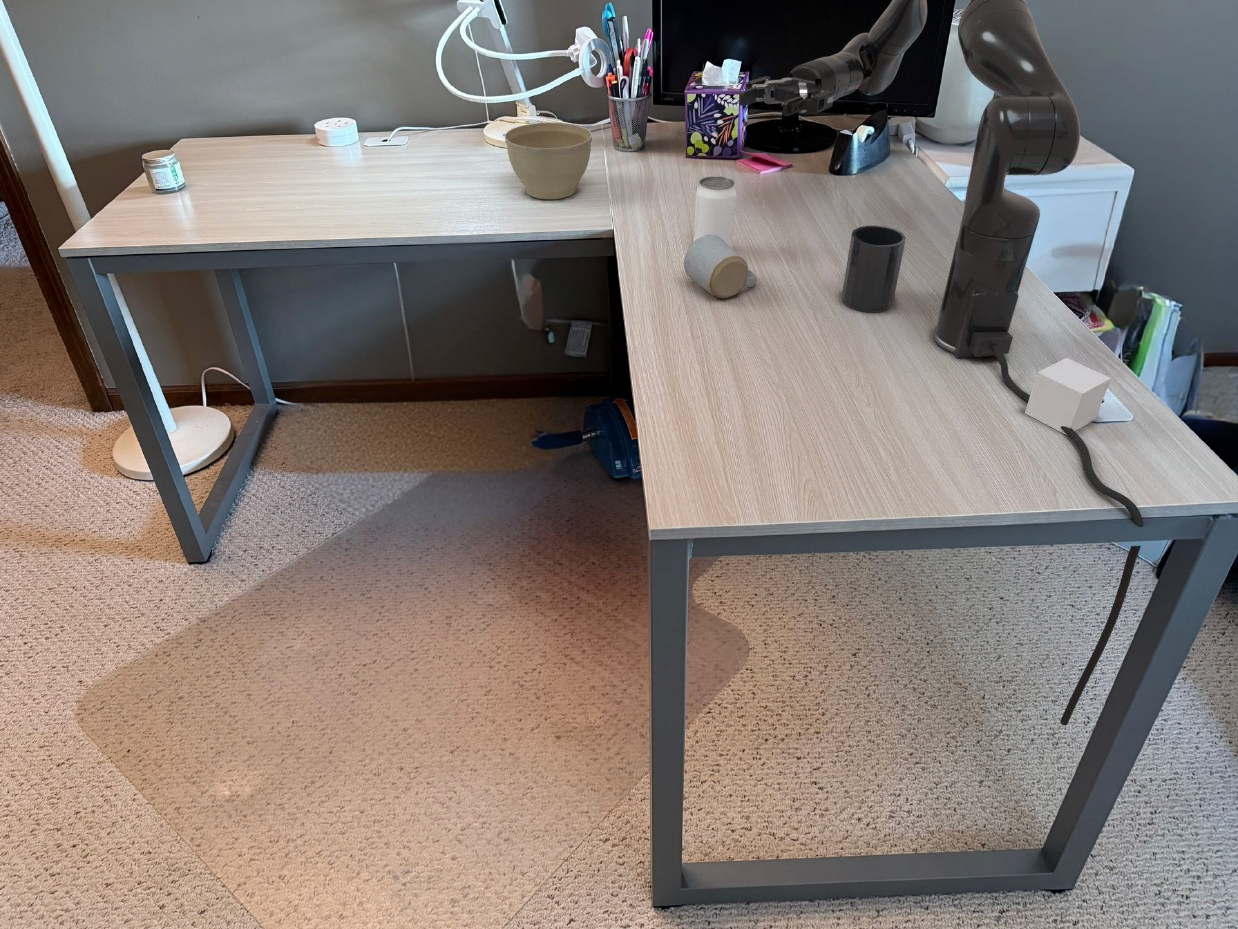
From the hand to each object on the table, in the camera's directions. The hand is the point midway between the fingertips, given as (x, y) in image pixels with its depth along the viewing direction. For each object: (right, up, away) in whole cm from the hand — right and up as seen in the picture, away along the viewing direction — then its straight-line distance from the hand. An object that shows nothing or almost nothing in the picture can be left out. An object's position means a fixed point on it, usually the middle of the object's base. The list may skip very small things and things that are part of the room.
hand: (762, 104), depth 146 cm
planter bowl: (-36, -5, +30) cm, 47 cm away
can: (-7, -22, +7) cm, 25 cm away
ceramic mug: (-7, -30, -3) cm, 31 cm away
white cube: (+32, -52, -32) cm, 69 cm away
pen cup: (+15, -33, -7) cm, 37 cm away
